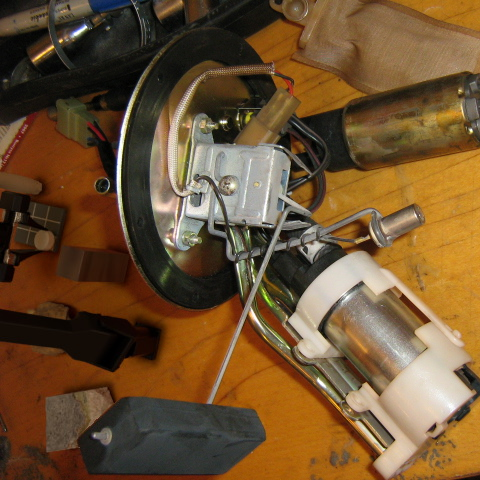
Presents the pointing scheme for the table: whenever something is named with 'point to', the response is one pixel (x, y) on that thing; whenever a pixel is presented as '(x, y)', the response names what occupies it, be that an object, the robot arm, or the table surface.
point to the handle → (19, 183)
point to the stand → (92, 264)
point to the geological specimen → (73, 416)
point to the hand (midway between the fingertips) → (44, 240)
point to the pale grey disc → (44, 240)
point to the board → (45, 217)
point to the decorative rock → (54, 312)
